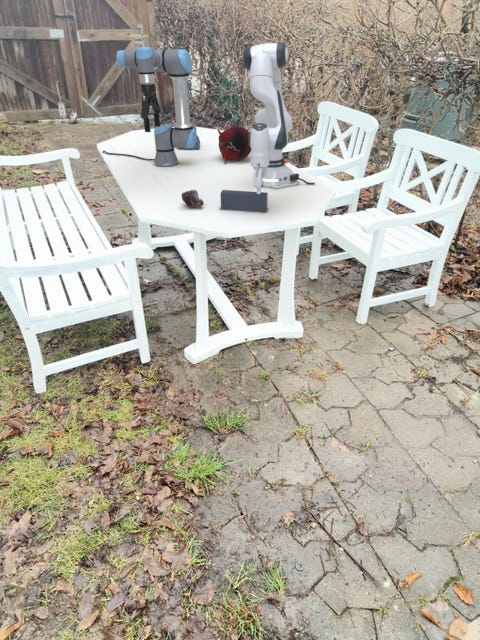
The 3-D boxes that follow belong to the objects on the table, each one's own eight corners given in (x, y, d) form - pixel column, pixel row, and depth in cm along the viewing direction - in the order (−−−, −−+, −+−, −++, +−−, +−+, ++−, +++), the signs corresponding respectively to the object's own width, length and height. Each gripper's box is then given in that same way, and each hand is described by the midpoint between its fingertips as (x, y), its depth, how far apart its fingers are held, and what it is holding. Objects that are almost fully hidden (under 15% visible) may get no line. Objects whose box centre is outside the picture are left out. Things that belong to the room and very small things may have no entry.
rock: (197, 203, 236) (179, 206, 232) (195, 186, 232) (177, 189, 228) (206, 207, 226) (187, 210, 222) (204, 189, 223) (185, 192, 219)
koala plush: (200, 149, 323) (198, 120, 312) (175, 150, 322) (172, 121, 311) (200, 144, 337) (198, 115, 326) (176, 144, 336) (173, 116, 325)
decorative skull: (215, 132, 306) (215, 129, 282) (249, 124, 305) (251, 121, 281) (222, 164, 313) (222, 164, 289) (255, 157, 312) (258, 156, 288)
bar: (221, 209, 226) (220, 192, 221) (223, 205, 230) (222, 189, 225) (265, 212, 222) (266, 195, 217) (267, 208, 226) (267, 192, 221)
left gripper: (145, 87, 211) (150, 134, 223) (163, 80, 231) (167, 124, 243) (130, 86, 212) (136, 134, 224) (150, 80, 232) (154, 124, 244)
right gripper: (263, 168, 202) (263, 197, 210) (269, 155, 219) (269, 183, 227) (249, 167, 203) (250, 197, 211) (256, 155, 220) (256, 182, 228)
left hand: (152, 129), depth 234 cm, fingers open, 13 cm apart
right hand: (260, 190), depth 219 cm, fingers open, 8 cm apart
